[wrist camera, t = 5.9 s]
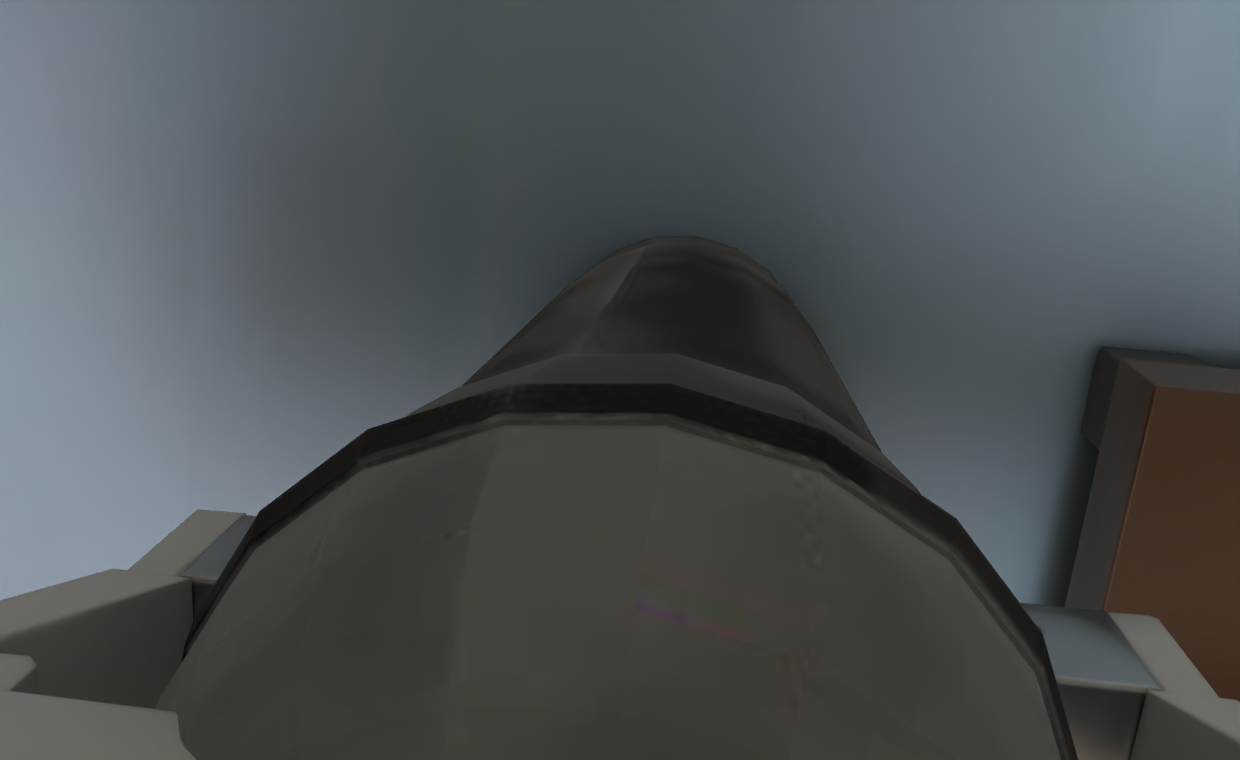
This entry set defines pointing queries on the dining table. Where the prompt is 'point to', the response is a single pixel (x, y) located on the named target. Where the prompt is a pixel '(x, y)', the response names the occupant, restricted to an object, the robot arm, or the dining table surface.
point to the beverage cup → (621, 562)
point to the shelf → (1166, 503)
